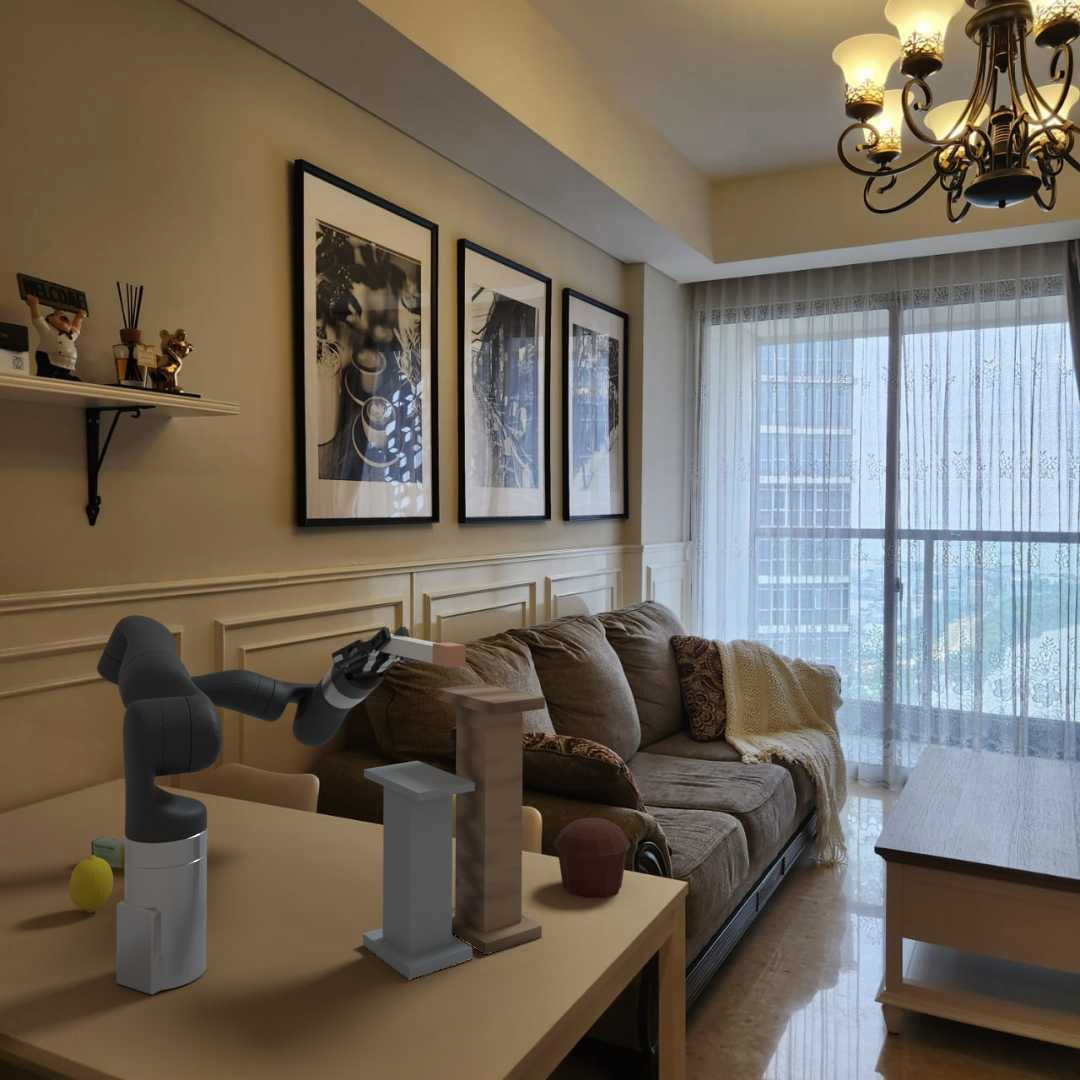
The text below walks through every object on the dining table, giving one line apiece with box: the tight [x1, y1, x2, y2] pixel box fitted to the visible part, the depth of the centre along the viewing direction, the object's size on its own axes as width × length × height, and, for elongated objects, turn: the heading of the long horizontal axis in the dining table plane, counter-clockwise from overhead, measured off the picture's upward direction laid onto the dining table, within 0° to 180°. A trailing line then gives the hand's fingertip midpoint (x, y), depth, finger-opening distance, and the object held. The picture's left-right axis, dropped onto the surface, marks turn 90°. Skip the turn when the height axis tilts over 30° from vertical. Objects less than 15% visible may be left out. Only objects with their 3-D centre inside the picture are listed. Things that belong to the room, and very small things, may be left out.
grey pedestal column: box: [362, 760, 475, 980], centre depth 118 cm, size 14×9×22 cm, turn 38°
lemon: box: [68, 854, 114, 914], centre depth 130 cm, size 6×6×8 cm
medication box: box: [90, 836, 125, 869], centre depth 148 cm, size 12×3×4 cm, turn 71°
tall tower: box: [436, 683, 546, 955], centre depth 125 cm, size 14×9×32 cm, turn 38°
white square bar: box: [373, 633, 466, 668], centre depth 134 cm, size 22×3×3 cm, turn 37°
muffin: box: [553, 817, 632, 899], centre depth 141 cm, size 12×11×10 cm
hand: (396, 632), depth 139 cm, fingers closed on white square bar, 2 cm apart
